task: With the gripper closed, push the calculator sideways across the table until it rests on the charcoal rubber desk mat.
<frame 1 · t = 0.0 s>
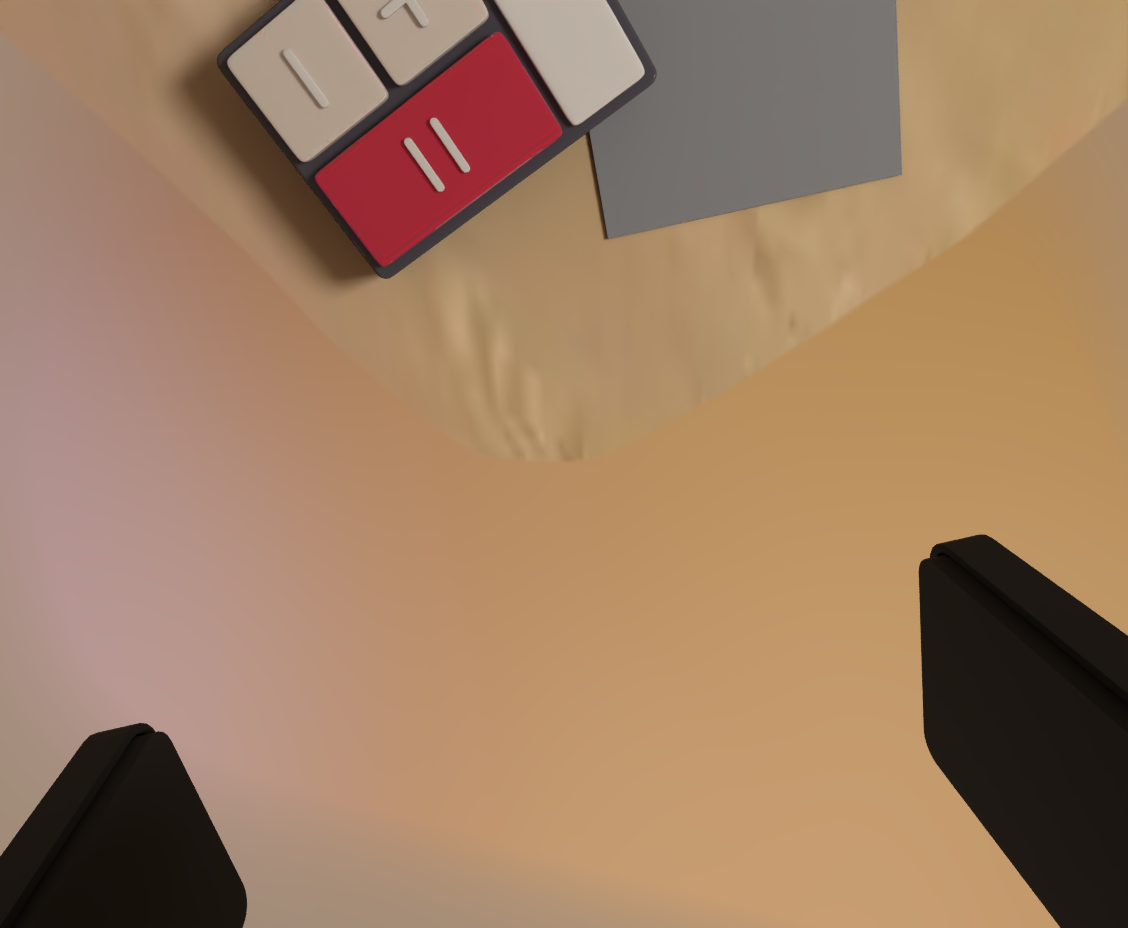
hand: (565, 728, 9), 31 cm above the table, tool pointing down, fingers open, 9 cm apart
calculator: (446, 77, 34), on the table, touching desk mat
desk mat: (735, 26, 35), on the table
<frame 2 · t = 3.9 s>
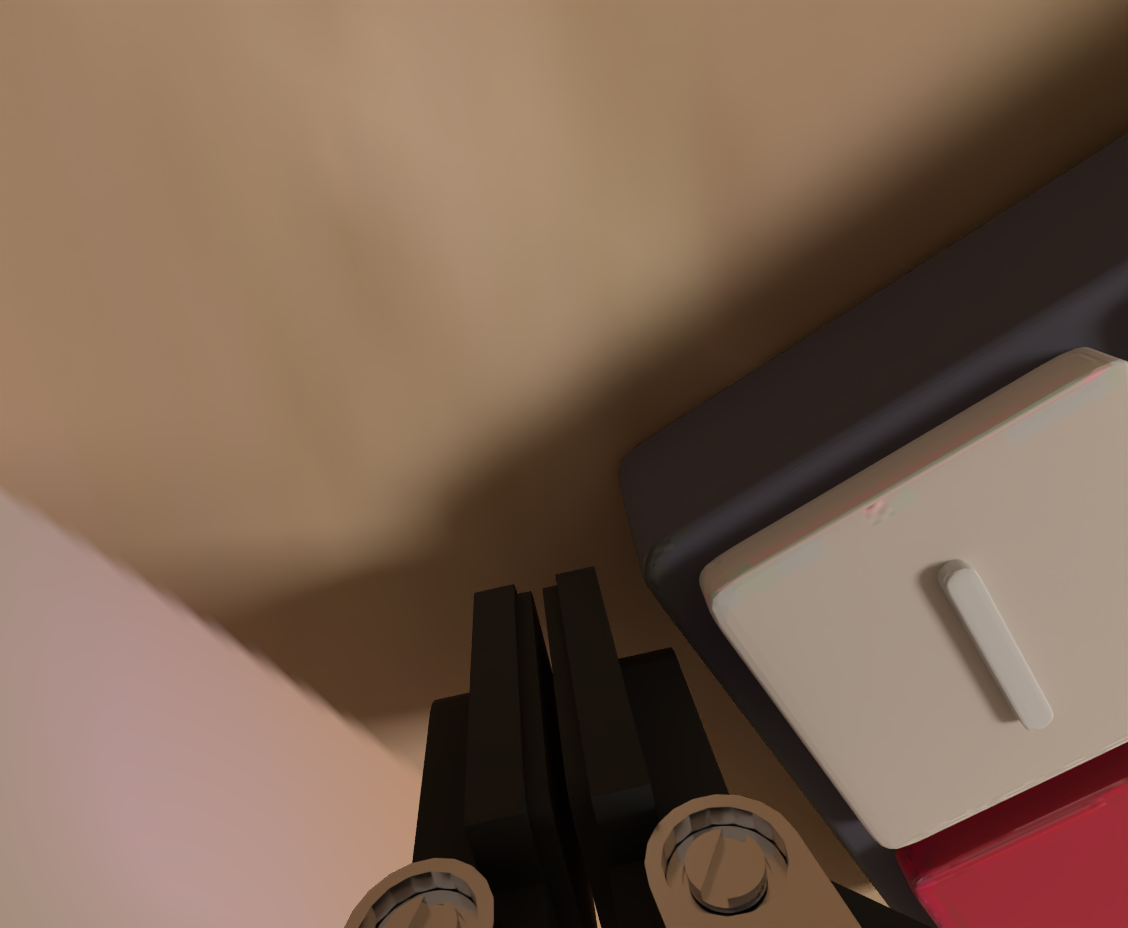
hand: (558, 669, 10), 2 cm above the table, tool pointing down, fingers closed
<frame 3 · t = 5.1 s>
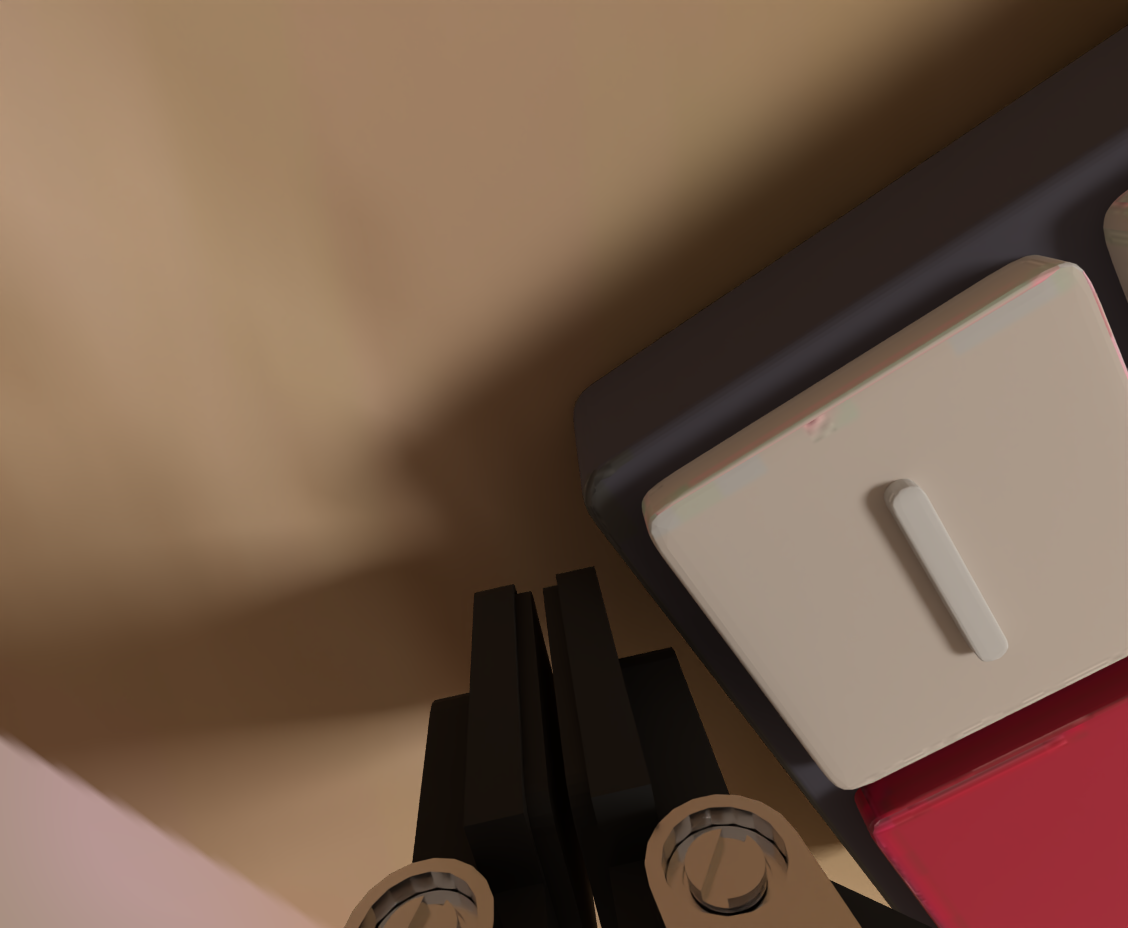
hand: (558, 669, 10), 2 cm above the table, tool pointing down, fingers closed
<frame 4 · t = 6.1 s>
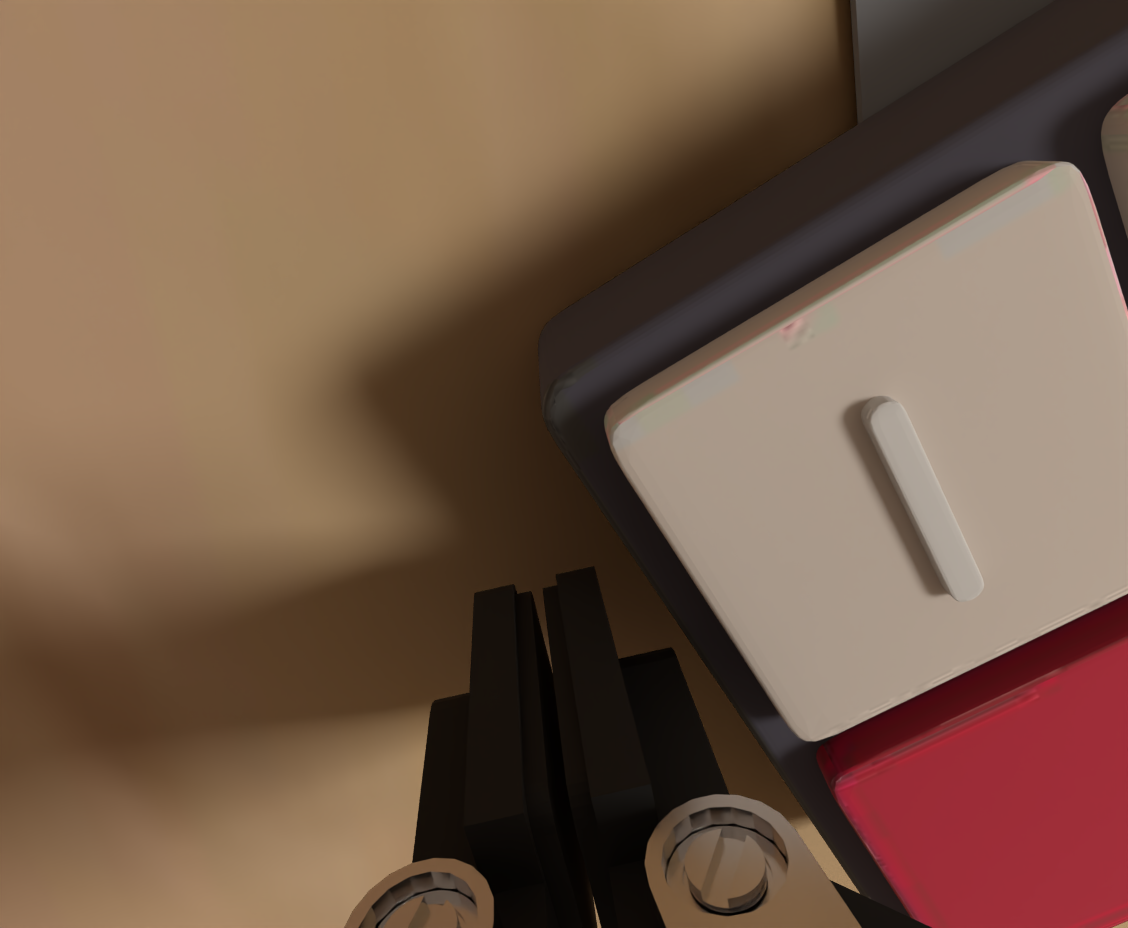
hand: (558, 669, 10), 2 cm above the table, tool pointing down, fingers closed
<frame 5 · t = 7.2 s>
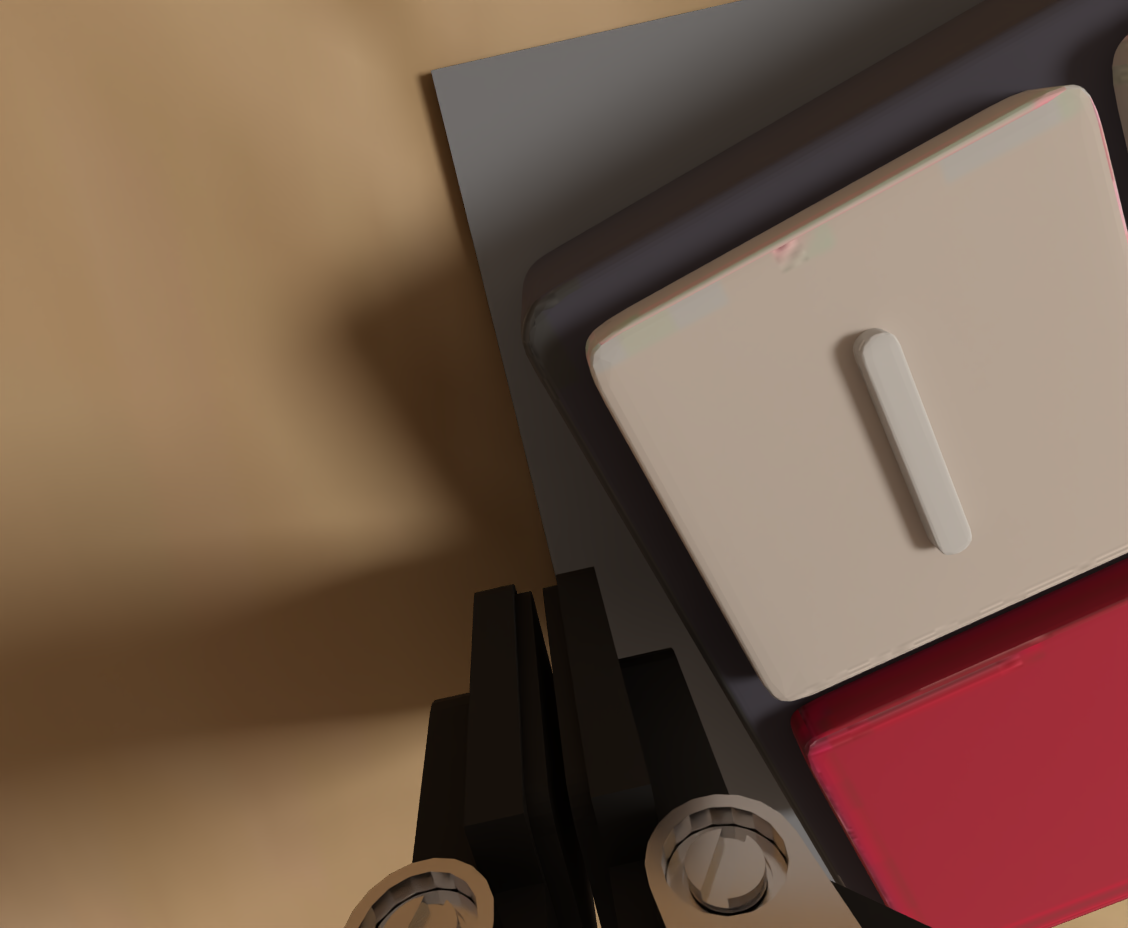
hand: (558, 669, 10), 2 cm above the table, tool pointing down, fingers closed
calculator: (1125, 347, 11), resting on desk mat, touching gripper
desk mat: (1023, 517, 12), on the table
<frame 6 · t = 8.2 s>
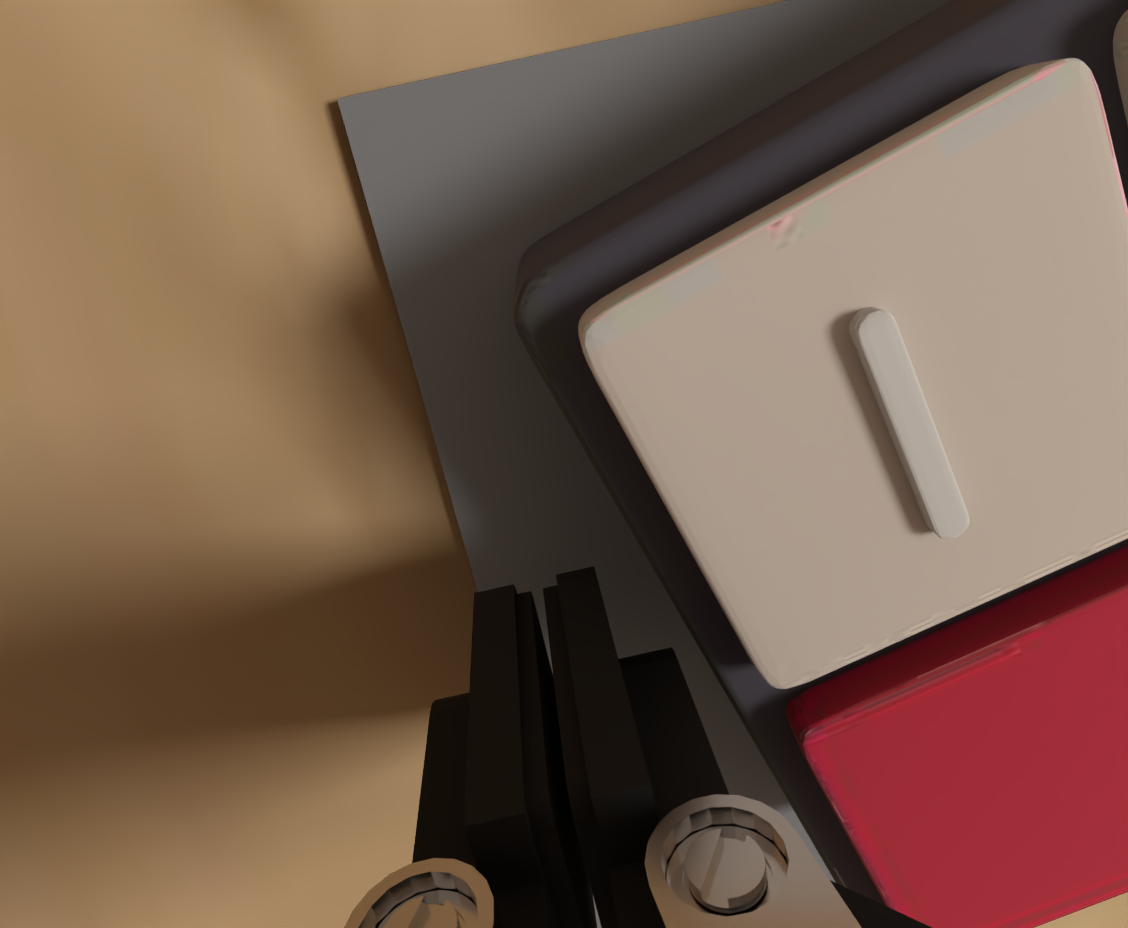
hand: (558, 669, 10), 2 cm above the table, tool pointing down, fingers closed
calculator: (1126, 336, 11), resting on desk mat, touching gripper
desk mat: (952, 543, 12), on the table
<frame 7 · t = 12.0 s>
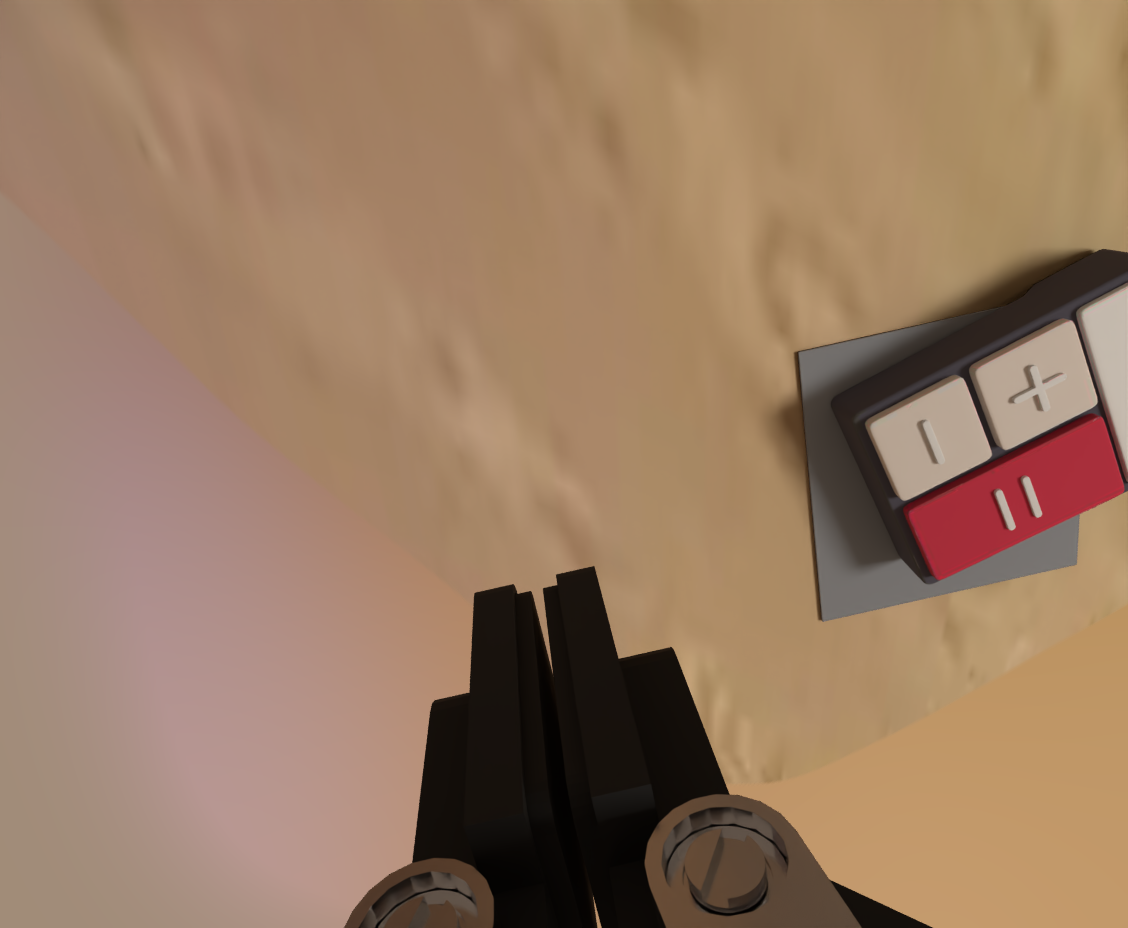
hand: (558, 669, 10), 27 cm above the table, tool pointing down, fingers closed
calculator: (991, 413, 40), resting on desk mat
desk mat: (946, 465, 40), on the table
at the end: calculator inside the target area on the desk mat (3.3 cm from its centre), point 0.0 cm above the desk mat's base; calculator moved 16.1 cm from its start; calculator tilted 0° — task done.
